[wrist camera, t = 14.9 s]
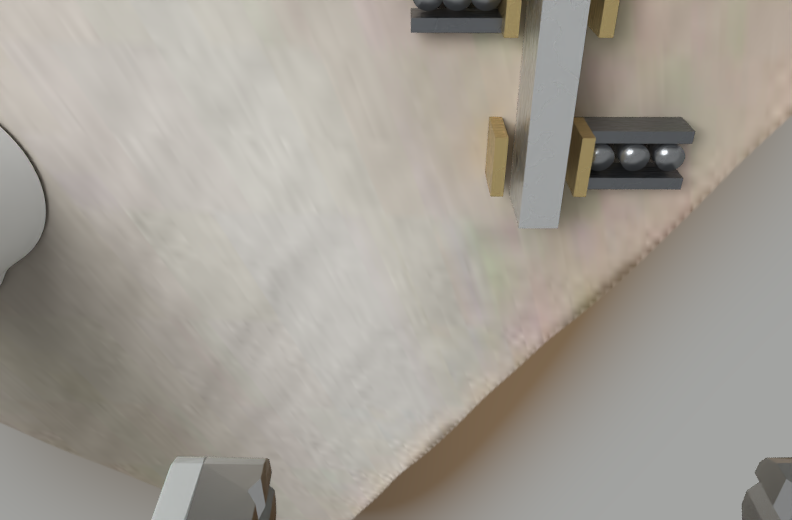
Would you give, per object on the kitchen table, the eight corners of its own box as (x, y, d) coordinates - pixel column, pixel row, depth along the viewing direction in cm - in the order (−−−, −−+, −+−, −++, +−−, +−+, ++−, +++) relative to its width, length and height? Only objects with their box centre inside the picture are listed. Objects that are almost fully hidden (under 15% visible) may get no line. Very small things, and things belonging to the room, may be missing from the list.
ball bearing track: (409, 172, 46) (409, 196, 43) (411, -51, 38) (411, -40, 35) (668, 173, 46) (686, 197, 43) (722, -51, 38) (748, -40, 35)
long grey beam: (507, 192, 47) (517, 228, 43) (532, -78, 38) (548, -65, 33) (545, 192, 47) (558, 228, 43) (579, -78, 38) (600, -66, 33)
